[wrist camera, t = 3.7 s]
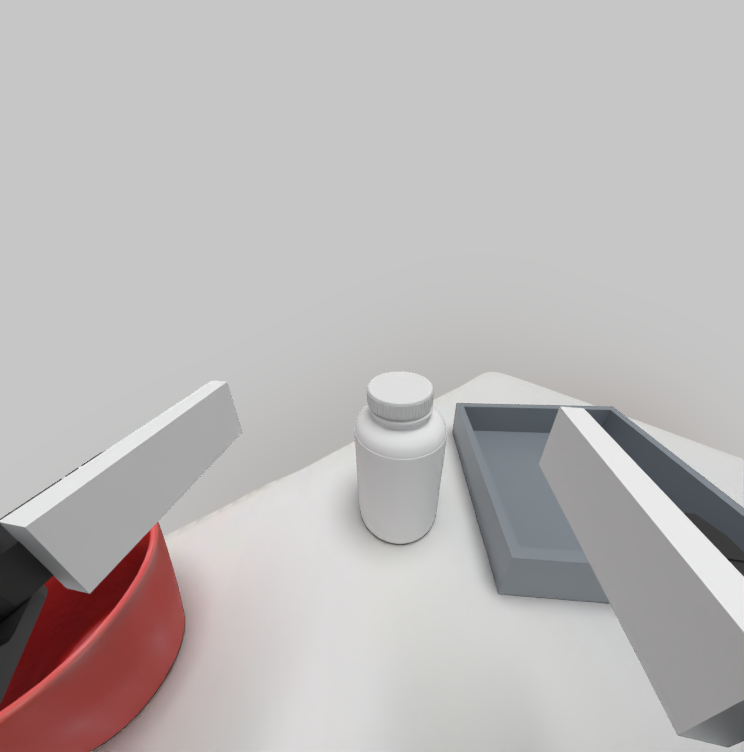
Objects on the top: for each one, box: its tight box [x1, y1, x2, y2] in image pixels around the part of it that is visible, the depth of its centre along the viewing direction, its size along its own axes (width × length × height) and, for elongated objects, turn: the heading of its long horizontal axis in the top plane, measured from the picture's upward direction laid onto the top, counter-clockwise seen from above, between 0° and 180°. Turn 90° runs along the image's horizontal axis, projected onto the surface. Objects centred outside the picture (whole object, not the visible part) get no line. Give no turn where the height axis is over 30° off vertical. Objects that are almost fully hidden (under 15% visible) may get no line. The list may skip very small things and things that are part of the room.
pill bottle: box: [354, 371, 447, 544], centre depth 25 cm, size 8×8×15 cm
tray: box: [453, 403, 744, 603], centre depth 28 cm, size 20×20×5 cm
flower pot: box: [0, 522, 185, 752], centre depth 16 cm, size 11×11×10 cm
